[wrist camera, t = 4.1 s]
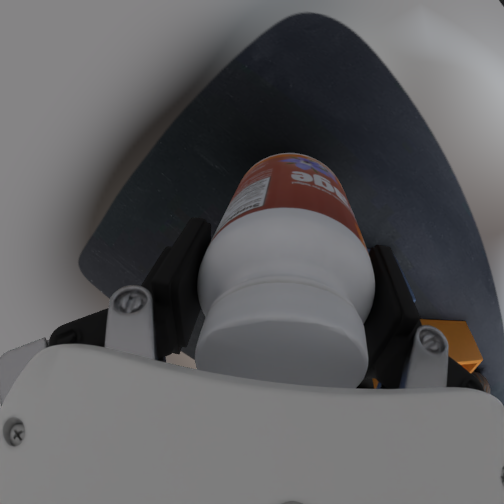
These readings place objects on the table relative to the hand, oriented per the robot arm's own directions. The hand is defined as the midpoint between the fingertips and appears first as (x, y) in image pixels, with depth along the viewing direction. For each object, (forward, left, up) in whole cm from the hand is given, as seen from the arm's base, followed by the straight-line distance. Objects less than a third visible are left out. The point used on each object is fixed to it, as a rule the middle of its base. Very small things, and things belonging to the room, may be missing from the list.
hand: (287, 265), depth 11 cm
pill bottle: (0, 0, -6) cm, 6 cm away
